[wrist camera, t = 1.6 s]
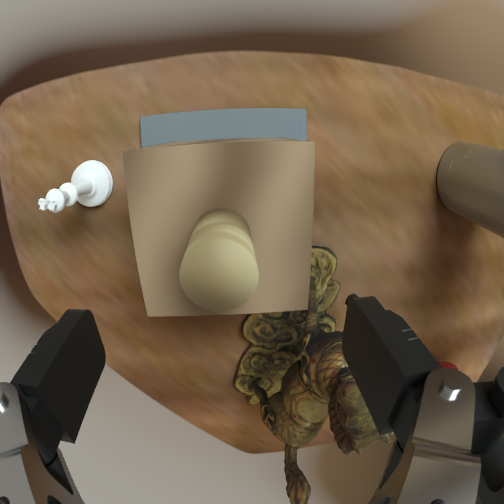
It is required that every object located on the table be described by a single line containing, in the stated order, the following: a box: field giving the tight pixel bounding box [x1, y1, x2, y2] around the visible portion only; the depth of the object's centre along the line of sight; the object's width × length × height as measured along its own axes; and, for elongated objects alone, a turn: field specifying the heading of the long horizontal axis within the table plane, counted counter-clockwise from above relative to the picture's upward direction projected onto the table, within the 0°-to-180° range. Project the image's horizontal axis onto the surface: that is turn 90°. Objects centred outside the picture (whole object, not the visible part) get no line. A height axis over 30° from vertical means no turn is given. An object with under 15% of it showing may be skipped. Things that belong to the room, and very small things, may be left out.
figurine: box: [234, 246, 395, 504], centre depth 27 cm, size 13×25×20 cm, turn 161°
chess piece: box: [38, 160, 113, 213], centre depth 24 cm, size 5×5×10 cm
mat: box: [140, 108, 307, 148], centre depth 30 cm, size 16×16×1 cm
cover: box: [123, 138, 315, 317], centre depth 21 cm, size 10×10×19 cm
